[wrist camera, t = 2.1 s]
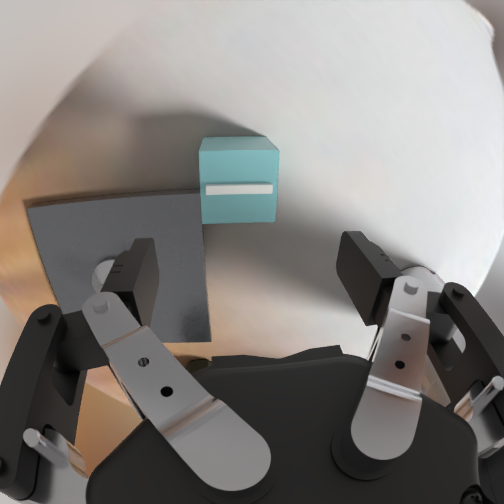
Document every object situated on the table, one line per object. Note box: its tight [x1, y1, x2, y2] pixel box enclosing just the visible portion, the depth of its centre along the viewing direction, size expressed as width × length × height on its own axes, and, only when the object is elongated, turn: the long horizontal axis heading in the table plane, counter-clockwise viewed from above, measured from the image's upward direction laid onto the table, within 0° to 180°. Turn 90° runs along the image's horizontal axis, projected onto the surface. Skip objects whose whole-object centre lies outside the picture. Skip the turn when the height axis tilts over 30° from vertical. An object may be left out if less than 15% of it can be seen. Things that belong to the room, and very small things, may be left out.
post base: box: [27, 189, 212, 343], centre depth 27 cm, size 18×18×6 cm
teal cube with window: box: [199, 136, 279, 224], centre depth 22 cm, size 5×5×6 cm
